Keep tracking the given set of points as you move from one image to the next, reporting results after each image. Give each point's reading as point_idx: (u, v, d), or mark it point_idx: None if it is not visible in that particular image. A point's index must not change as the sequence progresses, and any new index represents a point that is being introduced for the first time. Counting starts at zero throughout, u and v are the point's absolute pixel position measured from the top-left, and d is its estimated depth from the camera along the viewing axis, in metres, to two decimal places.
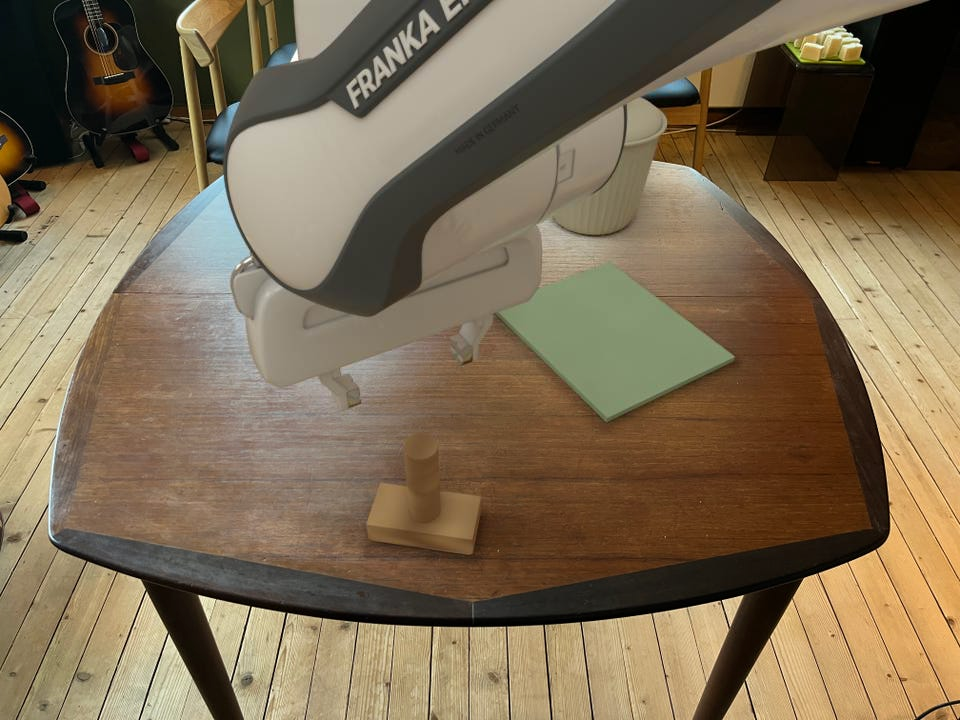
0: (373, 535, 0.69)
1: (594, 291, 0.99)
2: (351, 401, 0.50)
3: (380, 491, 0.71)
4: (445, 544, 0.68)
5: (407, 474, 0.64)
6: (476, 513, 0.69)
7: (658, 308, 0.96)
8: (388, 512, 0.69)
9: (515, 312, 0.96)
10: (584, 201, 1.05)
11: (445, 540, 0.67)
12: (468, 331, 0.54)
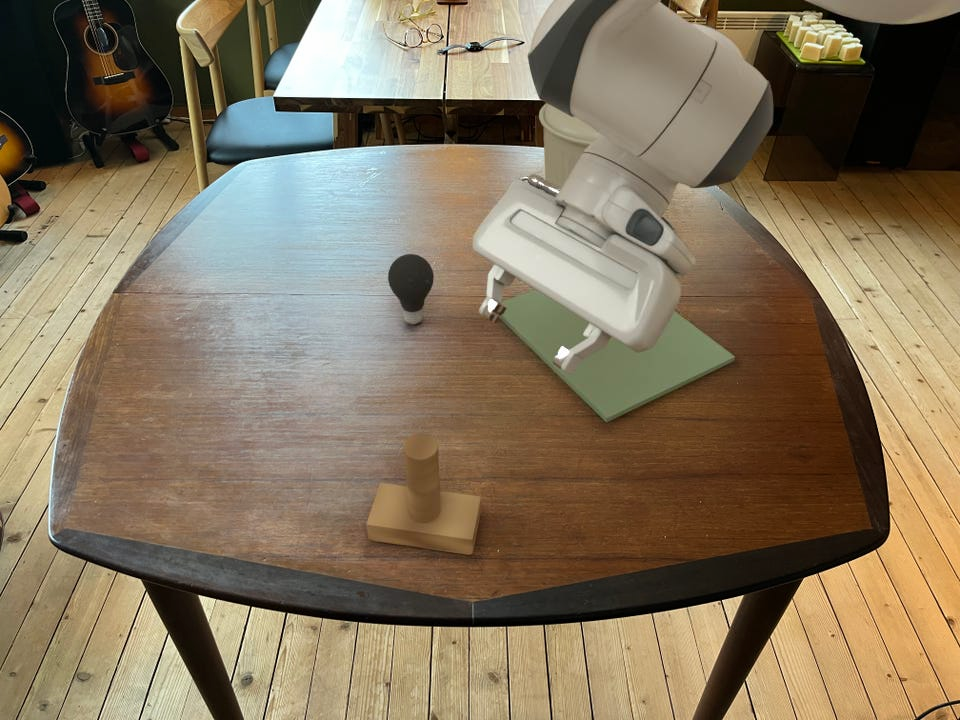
0: (373, 535, 0.69)
1: None
2: (487, 308, 0.68)
3: (380, 491, 0.71)
4: (445, 544, 0.68)
5: (407, 474, 0.64)
6: (476, 513, 0.69)
7: None
8: (388, 512, 0.69)
9: (515, 312, 0.96)
10: None
11: (445, 540, 0.67)
12: None
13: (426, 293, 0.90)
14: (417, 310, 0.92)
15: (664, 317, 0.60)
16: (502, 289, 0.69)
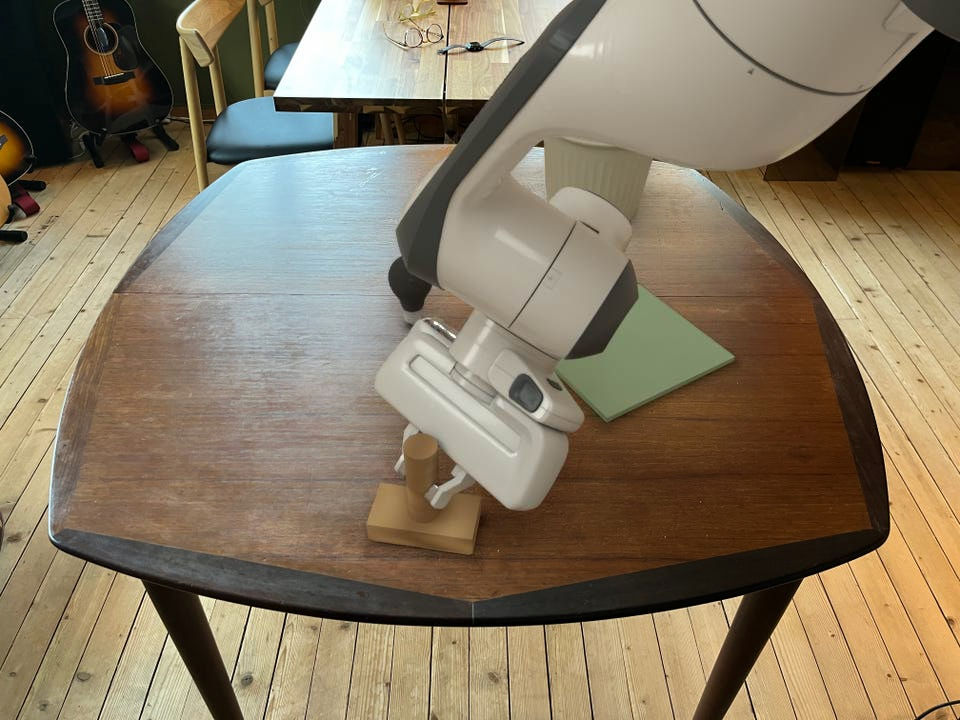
0: (373, 535, 0.69)
1: None
2: (402, 467, 0.67)
3: (380, 491, 0.71)
4: (445, 544, 0.68)
5: (407, 474, 0.64)
6: (476, 513, 0.69)
7: (658, 308, 0.96)
8: (388, 512, 0.69)
9: None
10: None
11: (445, 540, 0.67)
12: None
13: (426, 293, 0.90)
14: (417, 310, 0.92)
15: (548, 478, 0.60)
16: None
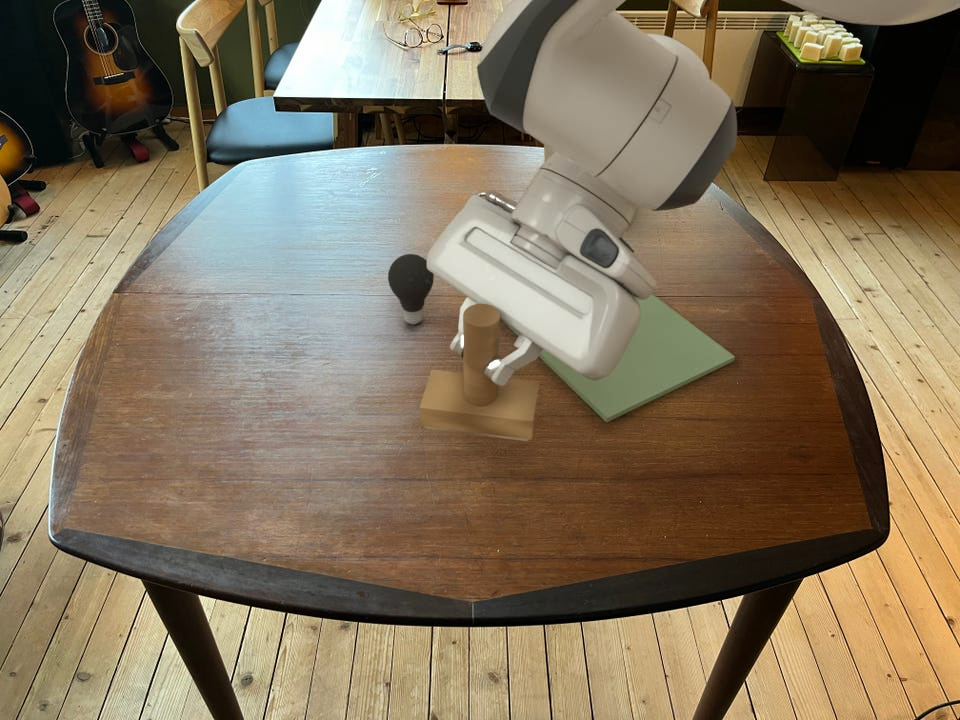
0: (426, 420, 0.65)
1: None
2: (458, 344, 0.63)
3: (432, 377, 0.67)
4: (503, 428, 0.64)
5: (466, 347, 0.60)
6: (535, 397, 0.65)
7: (658, 308, 0.96)
8: (442, 396, 0.65)
9: None
10: None
11: (504, 423, 0.64)
12: None
13: (426, 293, 0.90)
14: (417, 310, 0.92)
15: (621, 343, 0.57)
16: None
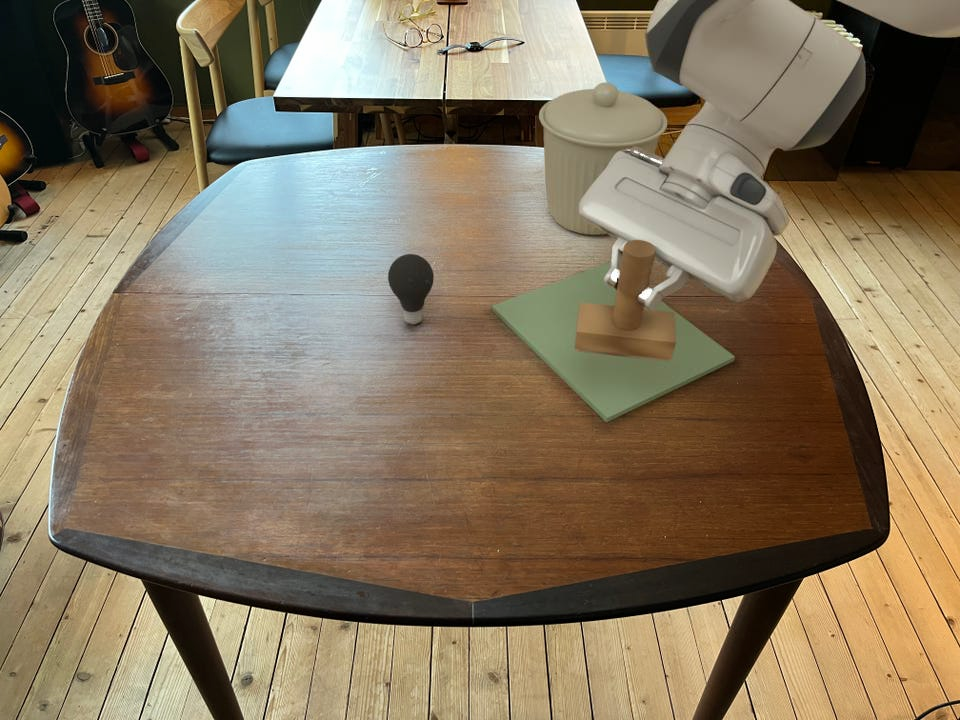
0: (580, 343, 0.76)
1: (594, 291, 0.99)
2: (612, 276, 0.74)
3: (582, 308, 0.78)
4: (648, 349, 0.75)
5: (624, 277, 0.71)
6: (674, 324, 0.76)
7: (658, 308, 0.96)
8: (594, 322, 0.76)
9: (515, 312, 0.96)
10: None
11: (649, 345, 0.75)
12: None
13: (426, 293, 0.90)
14: (417, 310, 0.92)
15: (763, 270, 0.68)
16: None
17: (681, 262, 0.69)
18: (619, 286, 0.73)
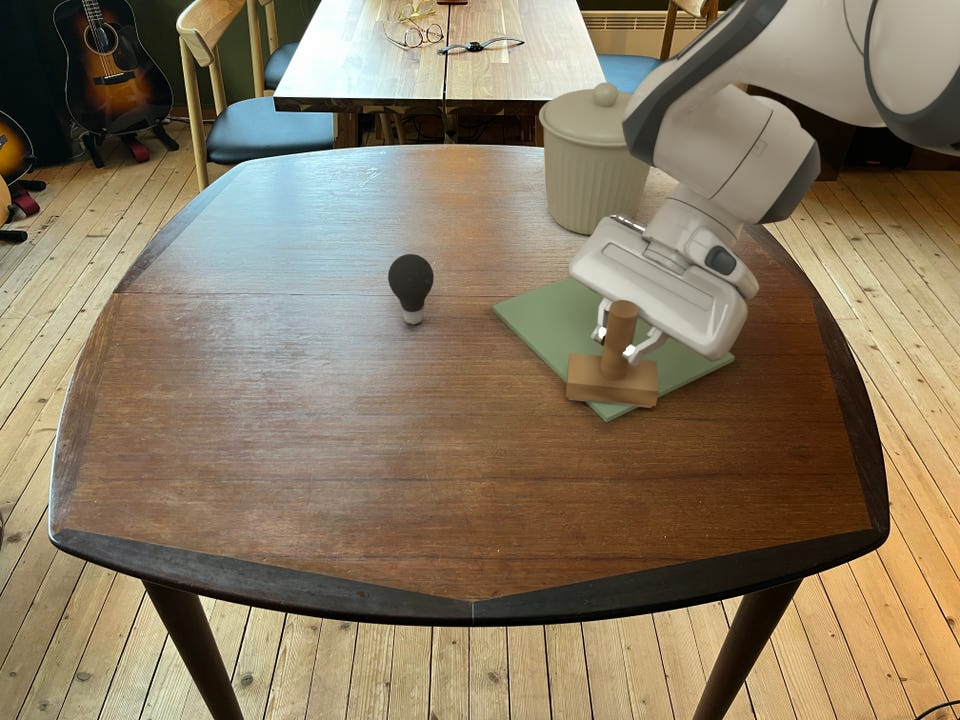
0: (571, 393, 0.82)
1: None
2: (598, 334, 0.80)
3: (571, 359, 0.84)
4: (633, 397, 0.82)
5: (610, 334, 0.78)
6: (656, 373, 0.83)
7: None
8: (583, 373, 0.82)
9: (515, 312, 0.96)
10: (584, 201, 1.05)
11: (634, 393, 0.81)
12: None
13: (426, 293, 0.90)
14: (417, 310, 0.92)
15: (735, 333, 0.74)
16: None
17: (661, 324, 0.76)
18: (606, 342, 0.79)
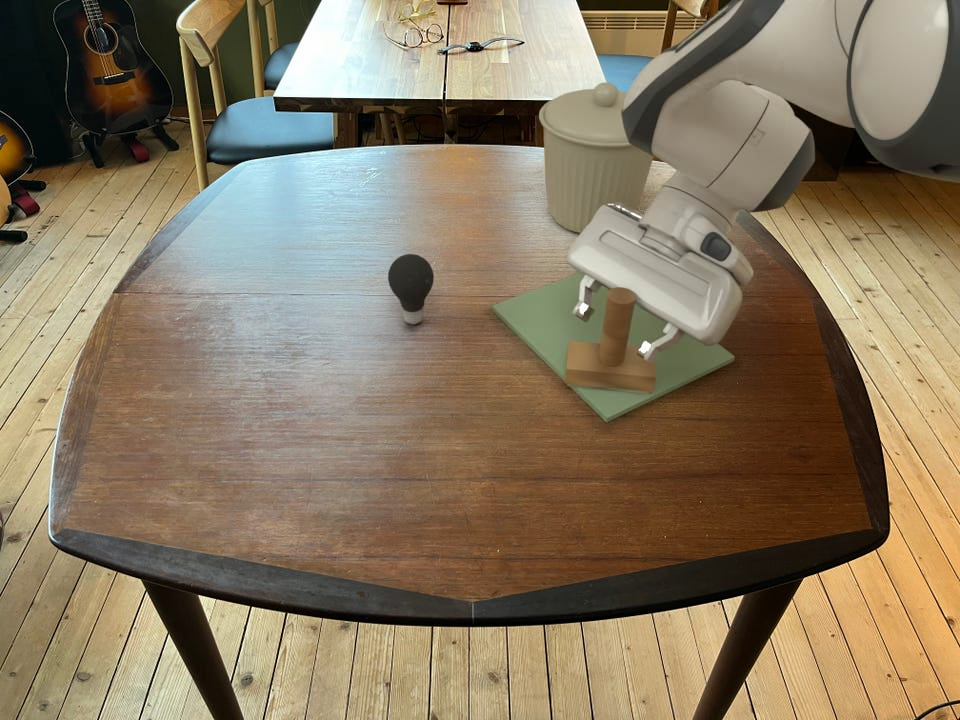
0: (570, 379, 0.84)
1: None
2: (580, 310, 0.83)
3: (570, 346, 0.86)
4: (631, 383, 0.83)
5: (608, 320, 0.80)
6: None
7: None
8: (582, 360, 0.84)
9: (515, 312, 0.96)
10: (584, 201, 1.05)
11: (632, 379, 0.83)
12: None
13: (426, 293, 0.90)
14: (417, 310, 0.92)
15: (730, 318, 0.76)
16: (590, 295, 0.85)
17: (657, 310, 0.77)
18: (604, 328, 0.81)
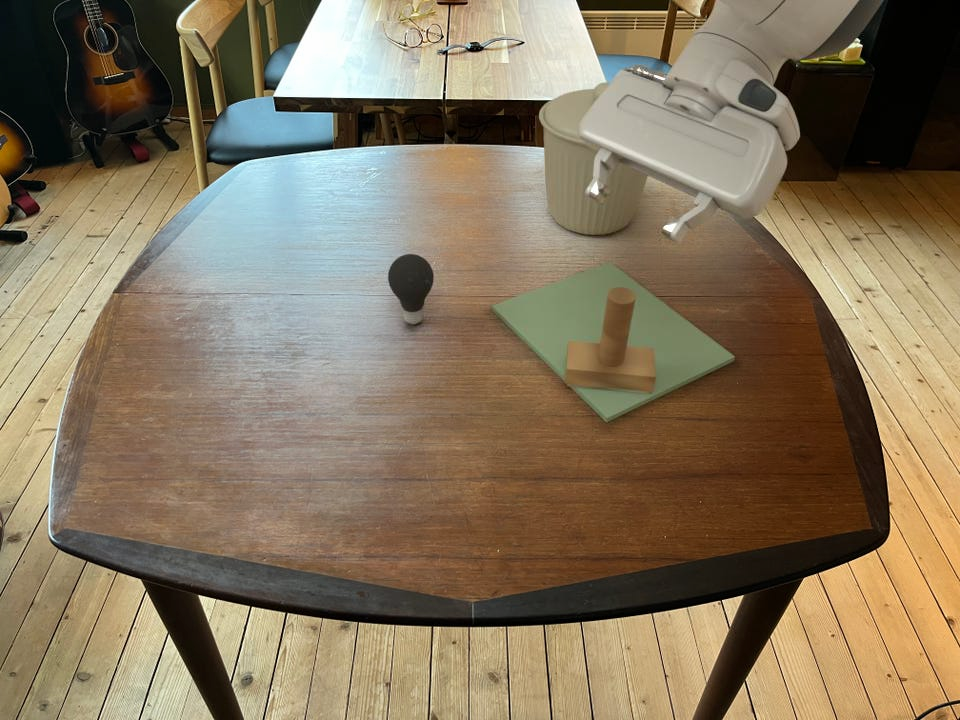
0: (570, 379, 0.84)
1: (594, 291, 0.99)
2: (594, 188, 0.72)
3: (570, 346, 0.86)
4: (631, 383, 0.83)
5: (608, 320, 0.80)
6: (653, 359, 0.84)
7: (658, 308, 0.96)
8: (582, 360, 0.84)
9: (515, 312, 0.96)
10: (584, 201, 1.05)
11: (632, 379, 0.83)
12: None
13: (426, 293, 0.90)
14: (417, 310, 0.92)
15: (773, 183, 0.64)
16: (606, 173, 0.73)
17: (686, 177, 0.66)
18: (604, 328, 0.81)
